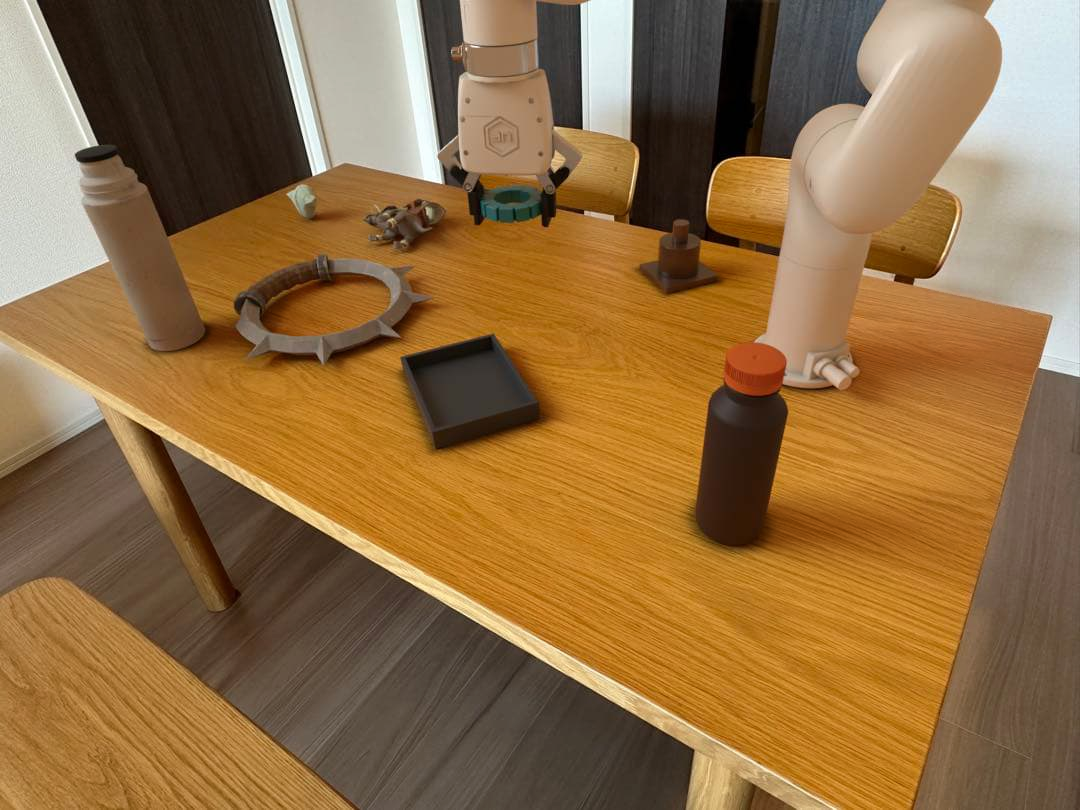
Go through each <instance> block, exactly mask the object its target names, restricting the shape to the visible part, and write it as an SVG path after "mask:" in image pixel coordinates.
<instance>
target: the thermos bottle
mask: <svg viewBox="0 0 1080 810" xmlns="http://www.w3.org/2000/svg"><path fill="white" fill-rule="evenodd" d="M119 153H120V151H119V149H118V147H117V146H116V145H115V144H99V145H94V146H93V145H92V146H89V147H85V148H83V149H80V150H78V151H76V152H75V154H74V157H75V160H76V161H77V163H78V164H79V165H78V166H79V169H80V171H81V174H82V176H81V177H80V179H79V180H78V184H79V186H80V191H81V192H82V193H83V196H82V197H81V198H80V203H81V205H82V208H83V209H84V211H85V213H86V216H87V218H88V219H89V222H90V224H91V225H92V228H93V229H94V231H95V234H96V236H97V239H98V240H99V242H100V245H101V246H102V249H103V251H104V253H105V256H106V257H107V259H108V261H109V263H110V266H111V267H112V269H113V272H114V274H115V276H116V278H117V280H118V282H119V285H120V286H121V289H122V291H123V293H124V295H125V297H126V299H127V301H128V303H129V305H130V307H131V309H132V310H131V311H132V312H133V314H134V316H135V318H136V320H137V322H138V325H139V327H140V328H141V330H142V333H143V335H144V337H145V340H146V342H147V343H148V346H149V347H150V349H152V350H155V351H159V352H173V351H179V350H181V349H185V348H188V347H189V346H191V345H194V344H195V343H197V342H198V341H200V340H201V339H202V338H203V337H204V335H205V333H206V327H205V325H204V323H203V321H202V318H201V315H200V313H199V310H198V308H197V305H196V303H195V301H194V298H193V295H192V293H191V290H190V289H189V286H188V284H187V281H186V279H185V277H184V273H183V271H182V269H181V267H180V263H179V262H178V260H177V257H176V255H175V252H174V250H173V247H172V245H171V242H170V240H169V237H168V235H167V233H166V230H165V227H164V226H163V223H162V221H161V218H160V216H159V213H158V211H157V208H156V206H155V204H154V203H155V202H154V201H153V198H152V196H151V194H150V191H149V189H148V186H147V185H145V184H144V183H141V182H140V181H139V180H138V174H137V173H135V170H134V169H132V167H131V168H130V167H127V166H125V164H124V163H123V160H122V158H121V156H119Z"/></svg>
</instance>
